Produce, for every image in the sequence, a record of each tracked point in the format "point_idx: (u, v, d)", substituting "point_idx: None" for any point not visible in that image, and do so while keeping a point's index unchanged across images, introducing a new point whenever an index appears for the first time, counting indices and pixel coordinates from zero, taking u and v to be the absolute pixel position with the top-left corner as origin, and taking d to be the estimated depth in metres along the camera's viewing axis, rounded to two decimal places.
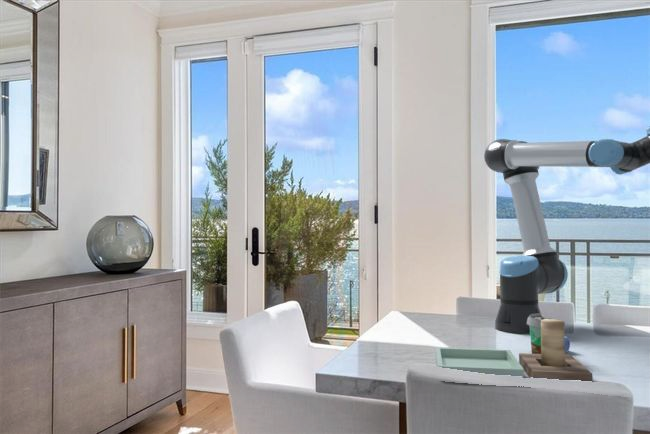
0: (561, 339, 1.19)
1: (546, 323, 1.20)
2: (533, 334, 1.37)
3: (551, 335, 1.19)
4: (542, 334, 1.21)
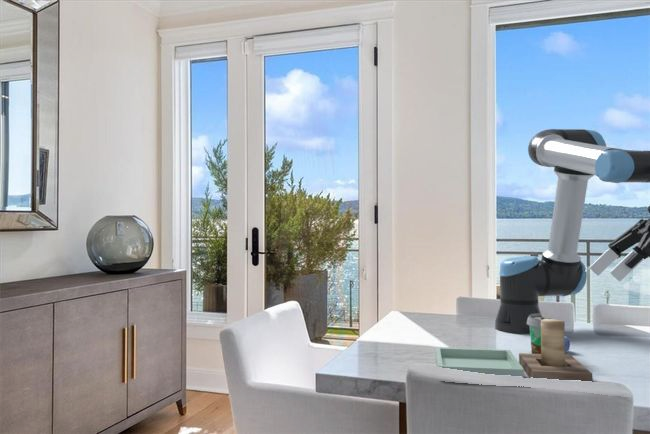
0: (561, 339, 1.19)
1: (546, 323, 1.20)
2: (533, 334, 1.37)
3: (551, 335, 1.19)
4: (542, 334, 1.21)
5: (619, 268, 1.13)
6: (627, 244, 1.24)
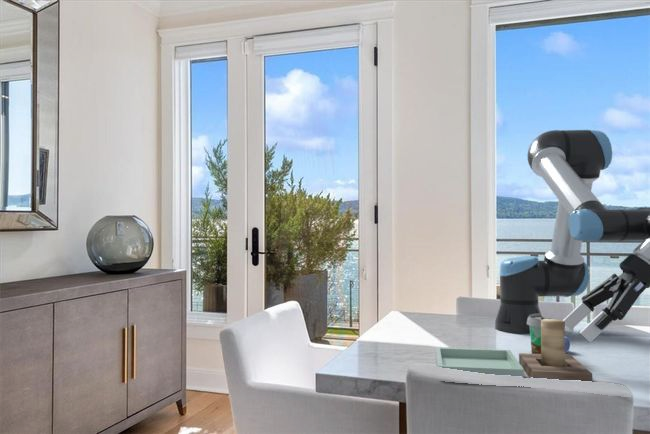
0: (561, 339, 1.19)
1: (546, 323, 1.20)
2: (533, 334, 1.37)
3: (551, 335, 1.19)
4: (542, 334, 1.21)
5: (589, 328, 1.12)
6: (599, 299, 1.23)
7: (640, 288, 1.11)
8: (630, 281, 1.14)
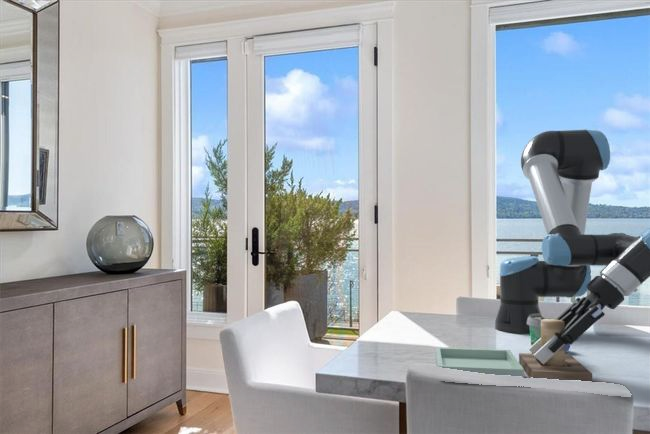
0: None
1: (546, 323, 1.20)
2: (533, 334, 1.37)
3: (551, 335, 1.19)
4: (542, 334, 1.21)
5: (542, 351, 1.19)
6: (567, 324, 1.23)
7: (598, 316, 1.14)
8: (594, 304, 1.16)
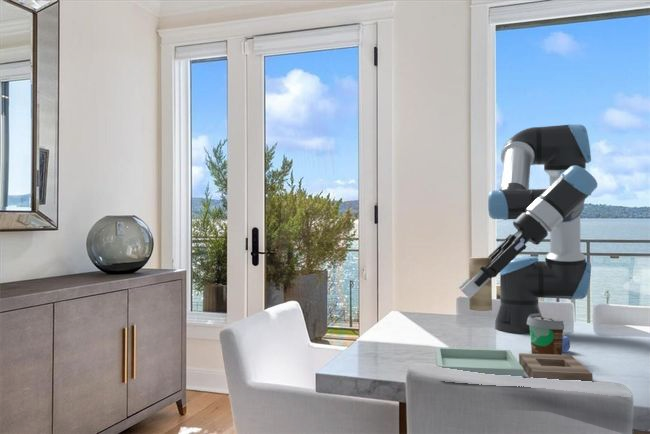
0: None
1: (473, 259, 1.22)
2: (533, 334, 1.37)
3: (478, 270, 1.22)
4: (470, 270, 1.24)
5: (468, 286, 1.21)
6: None
7: (520, 248, 1.16)
8: (517, 238, 1.19)
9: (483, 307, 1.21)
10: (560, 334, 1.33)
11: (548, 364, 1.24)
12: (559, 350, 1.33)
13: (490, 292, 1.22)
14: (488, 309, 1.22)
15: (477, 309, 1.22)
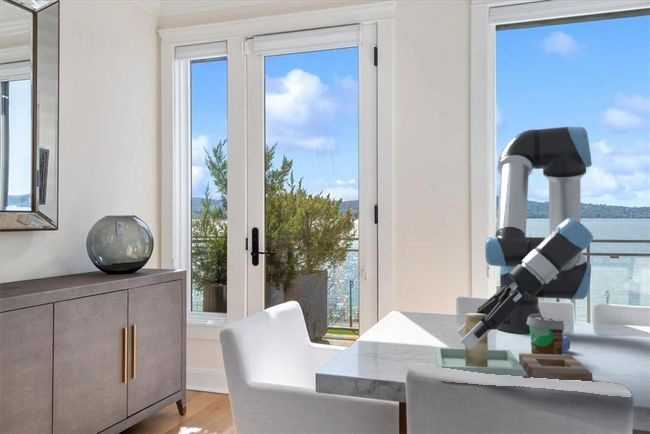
0: None
1: (469, 317, 1.23)
2: (533, 334, 1.37)
3: None
4: (466, 327, 1.24)
5: (468, 337, 1.19)
6: (492, 309, 1.27)
7: (518, 300, 1.16)
8: (513, 290, 1.19)
9: (479, 365, 1.22)
10: (560, 334, 1.33)
11: (548, 364, 1.24)
12: (559, 350, 1.33)
13: (486, 350, 1.23)
14: None
15: None
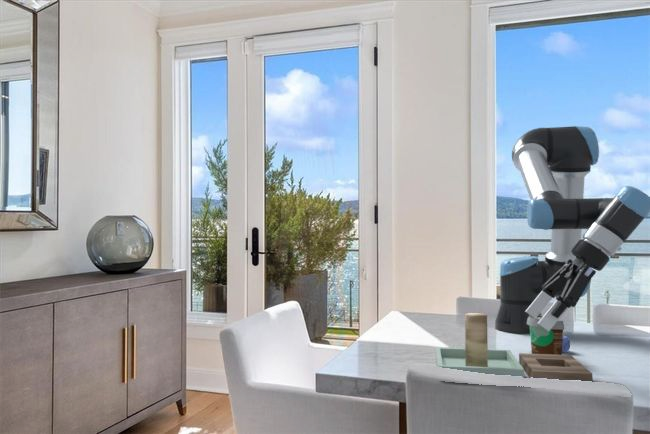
0: (483, 332, 1.22)
1: (469, 317, 1.23)
2: (533, 334, 1.37)
3: (473, 328, 1.22)
4: (466, 327, 1.24)
5: (546, 318, 1.15)
6: (558, 286, 1.26)
7: (590, 273, 1.14)
8: (581, 267, 1.17)
9: (479, 365, 1.22)
10: (560, 334, 1.33)
11: (548, 364, 1.24)
12: (559, 350, 1.33)
13: (486, 350, 1.23)
14: None
15: None
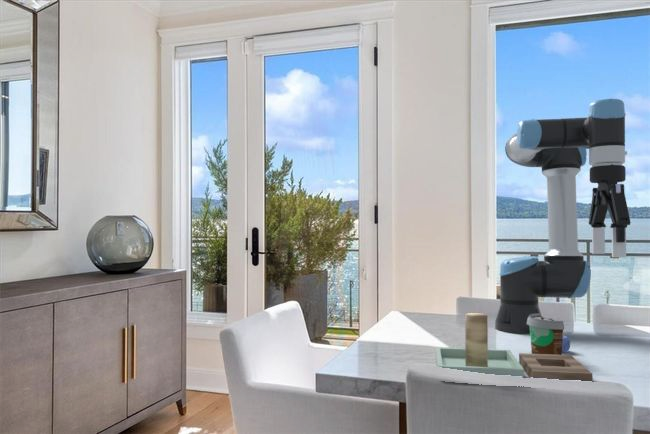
0: (483, 332, 1.22)
1: (469, 317, 1.23)
2: (533, 334, 1.37)
3: (474, 328, 1.22)
4: (466, 327, 1.24)
5: (615, 248, 1.18)
6: (602, 215, 1.30)
7: (621, 188, 1.18)
8: (609, 188, 1.22)
9: (479, 365, 1.22)
10: (560, 334, 1.33)
11: (548, 364, 1.24)
12: (559, 350, 1.33)
13: (486, 350, 1.23)
14: None
15: None
